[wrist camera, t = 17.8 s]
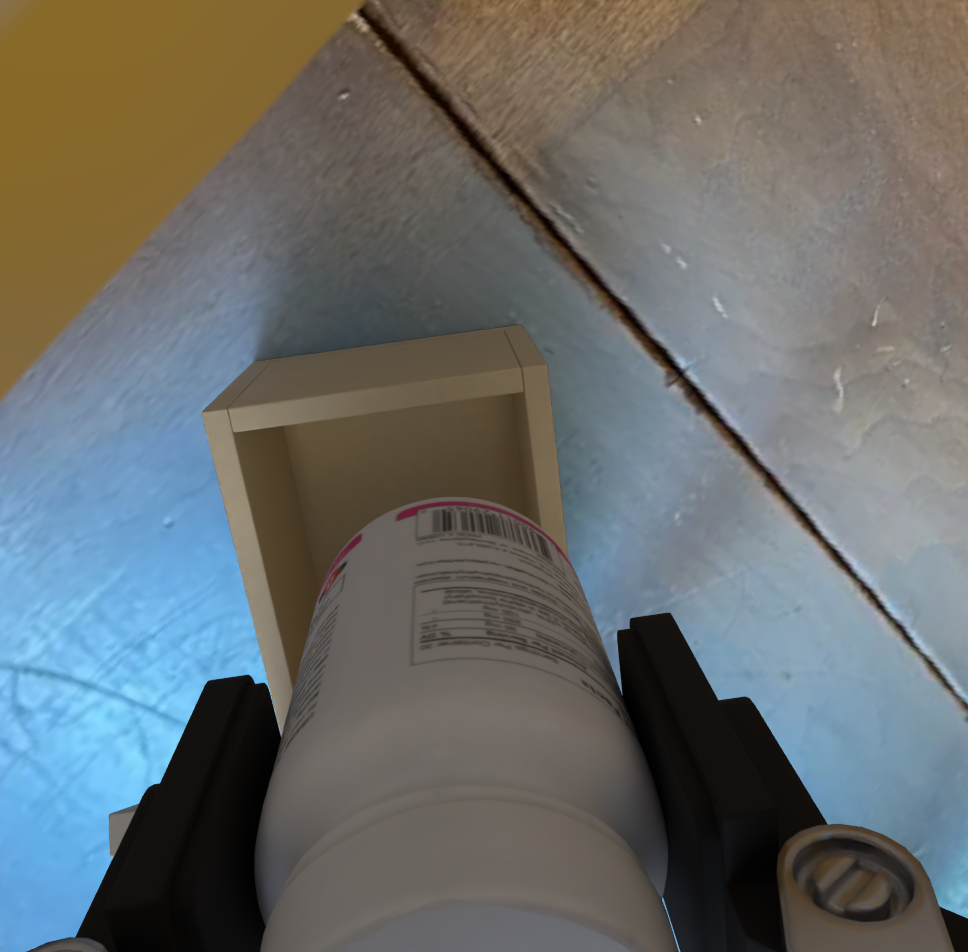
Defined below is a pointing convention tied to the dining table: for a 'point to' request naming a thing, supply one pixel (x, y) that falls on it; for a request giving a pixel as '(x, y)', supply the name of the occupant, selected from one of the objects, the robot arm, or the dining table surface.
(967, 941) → the robot arm
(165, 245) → the dining table surface
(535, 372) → the box
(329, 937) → the pill bottle
